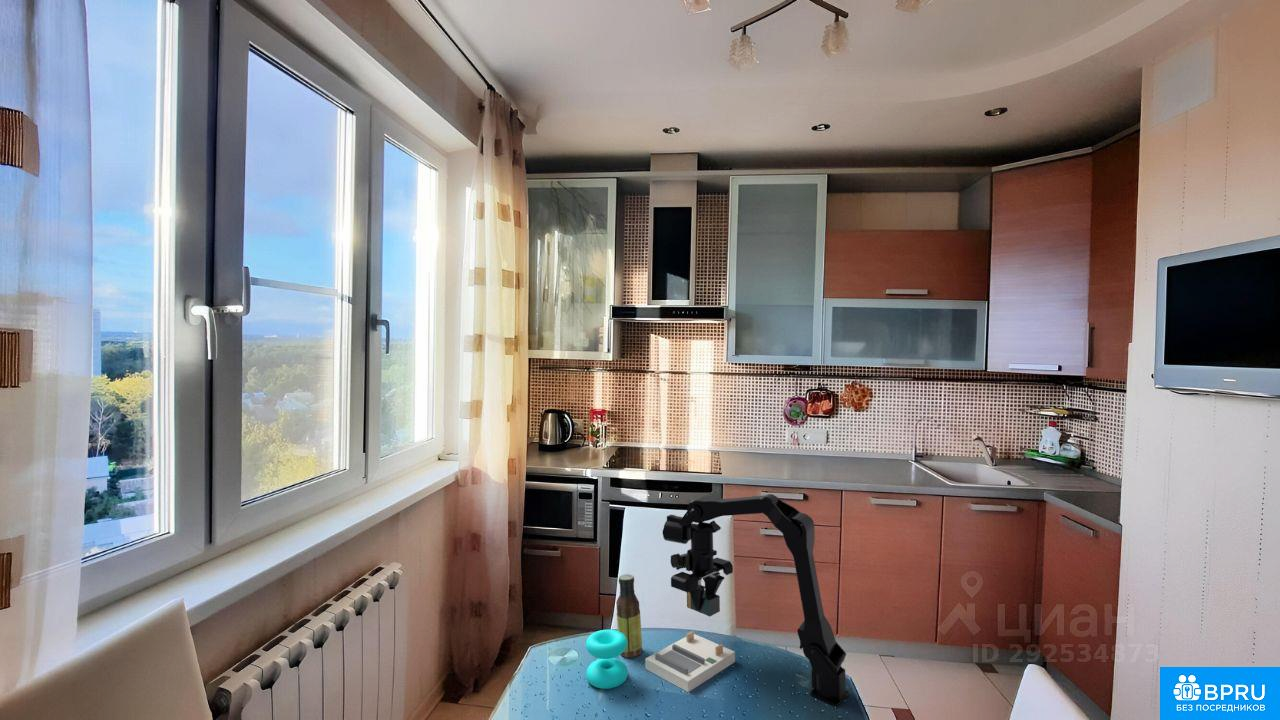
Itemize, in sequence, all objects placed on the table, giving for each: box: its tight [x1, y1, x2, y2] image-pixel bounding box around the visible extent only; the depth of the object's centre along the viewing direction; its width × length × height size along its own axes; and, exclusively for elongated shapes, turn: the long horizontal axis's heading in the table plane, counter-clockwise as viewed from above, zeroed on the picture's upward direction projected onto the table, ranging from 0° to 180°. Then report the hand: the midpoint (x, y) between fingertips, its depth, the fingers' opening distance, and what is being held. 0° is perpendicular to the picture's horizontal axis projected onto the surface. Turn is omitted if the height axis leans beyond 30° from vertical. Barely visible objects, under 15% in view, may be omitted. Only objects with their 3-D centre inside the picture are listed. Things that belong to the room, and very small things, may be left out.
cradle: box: [644, 630, 736, 693], centre depth 134 cm, size 14×18×4 cm
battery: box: [686, 590, 721, 617], centre depth 138 cm, size 8×4×4 cm, turn 44°
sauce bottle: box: [616, 573, 643, 658], centre depth 141 cm, size 7×6×20 cm
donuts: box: [585, 629, 629, 690], centre depth 129 cm, size 10×10×10 cm
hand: (703, 607), depth 138 cm, fingers closed on battery, 4 cm apart
